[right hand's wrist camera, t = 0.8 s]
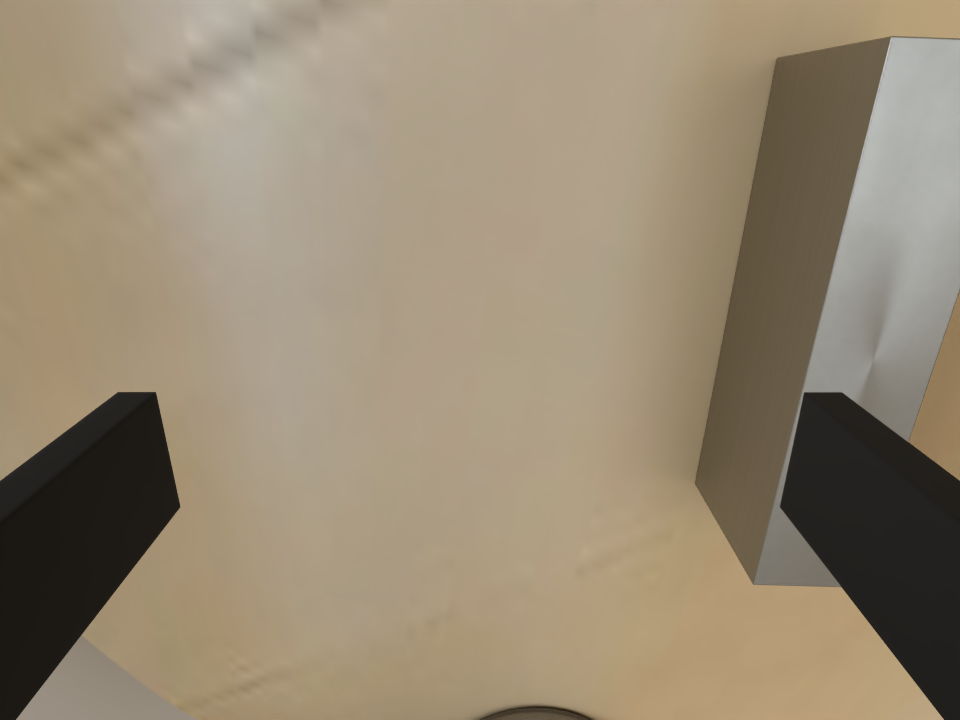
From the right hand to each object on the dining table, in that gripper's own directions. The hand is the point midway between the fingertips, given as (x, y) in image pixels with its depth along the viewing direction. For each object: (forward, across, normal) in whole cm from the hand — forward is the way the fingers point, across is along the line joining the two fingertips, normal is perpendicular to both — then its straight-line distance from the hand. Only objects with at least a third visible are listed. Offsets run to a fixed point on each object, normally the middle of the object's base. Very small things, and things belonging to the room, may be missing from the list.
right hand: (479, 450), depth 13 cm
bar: (+23, -17, +3) cm, 28 cm away
